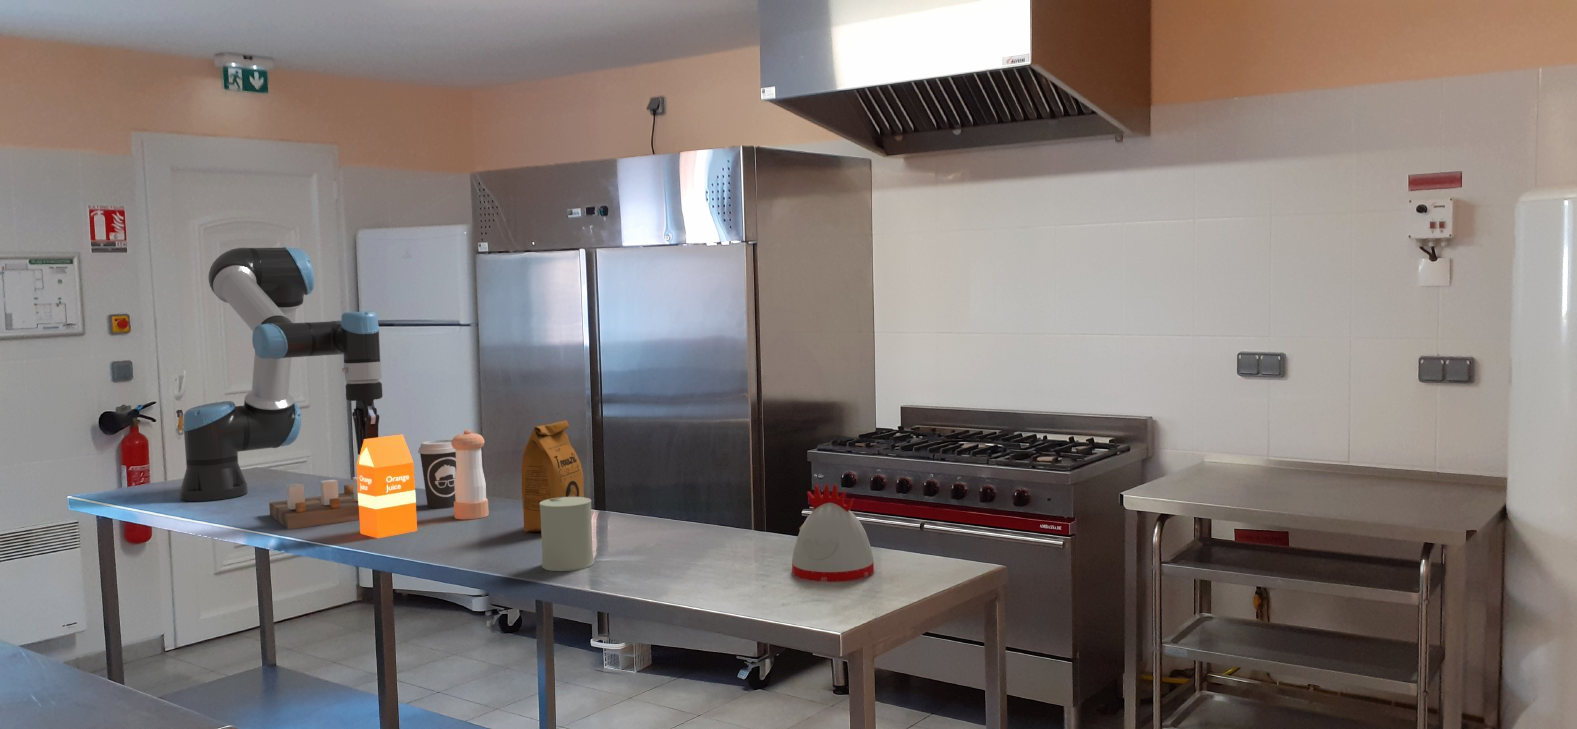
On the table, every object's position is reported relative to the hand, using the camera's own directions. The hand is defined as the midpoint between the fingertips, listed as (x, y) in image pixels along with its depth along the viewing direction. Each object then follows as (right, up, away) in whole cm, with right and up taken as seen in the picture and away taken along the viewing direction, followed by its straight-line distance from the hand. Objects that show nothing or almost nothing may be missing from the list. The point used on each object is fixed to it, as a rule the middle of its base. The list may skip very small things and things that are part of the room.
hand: (370, 487), depth 249 cm
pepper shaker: (+22, -6, 0) cm, 23 cm away
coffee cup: (+12, -6, +13) cm, 19 cm away
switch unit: (-12, -7, +5) cm, 15 cm away
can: (+53, -9, -47) cm, 71 cm away
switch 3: (-4, -3, +6) cm, 8 cm away
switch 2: (-10, -4, +2) cm, 10 cm away
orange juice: (+9, -8, -14) cm, 19 cm away
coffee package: (+44, -7, -15) cm, 47 cm away
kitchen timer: (+100, -8, -57) cm, 115 cm away
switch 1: (-15, -4, -2) cm, 16 cm away
